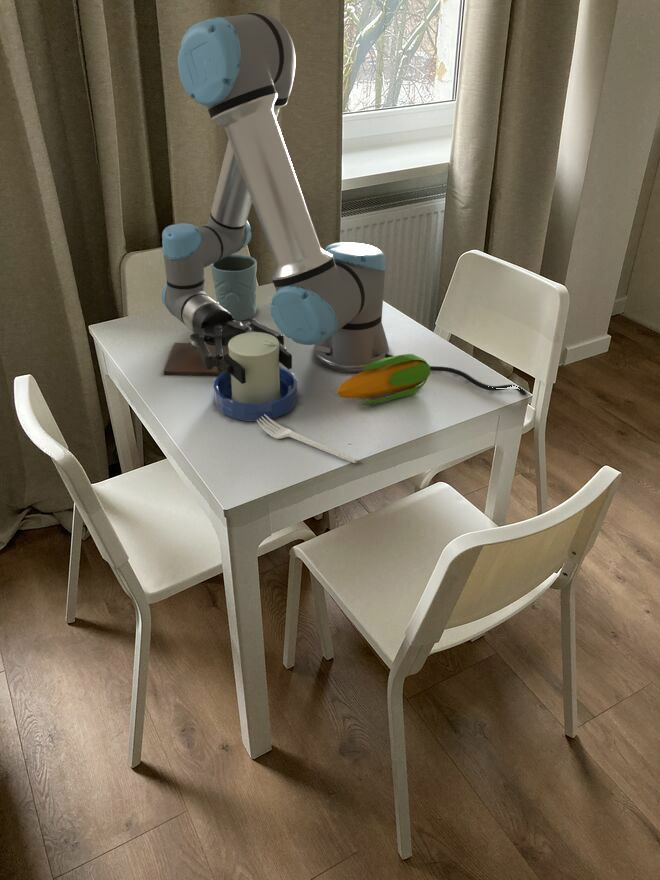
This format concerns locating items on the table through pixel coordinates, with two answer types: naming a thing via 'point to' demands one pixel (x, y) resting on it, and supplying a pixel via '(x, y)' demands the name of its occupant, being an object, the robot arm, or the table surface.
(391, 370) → the corn
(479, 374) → the table surface
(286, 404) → the bowl
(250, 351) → the can
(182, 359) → the board
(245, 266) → the blue cup
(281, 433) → the fork
